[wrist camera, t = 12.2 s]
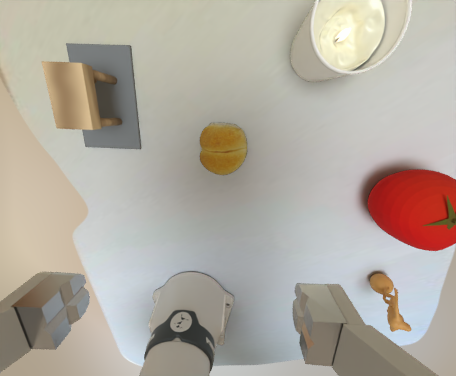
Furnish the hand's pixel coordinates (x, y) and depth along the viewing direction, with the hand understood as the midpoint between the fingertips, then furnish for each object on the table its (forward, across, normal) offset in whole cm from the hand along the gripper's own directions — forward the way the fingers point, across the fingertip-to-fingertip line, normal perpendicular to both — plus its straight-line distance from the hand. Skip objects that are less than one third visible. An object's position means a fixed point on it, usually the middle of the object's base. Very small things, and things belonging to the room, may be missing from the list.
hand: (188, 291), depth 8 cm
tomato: (+32, -31, +7) cm, 45 cm away
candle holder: (+32, -14, -16) cm, 38 cm away
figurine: (+33, -32, +26) cm, 52 cm away
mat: (+31, +20, -9) cm, 38 cm away
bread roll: (+32, +1, -2) cm, 32 cm away
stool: (+31, +20, -9) cm, 38 cm away
